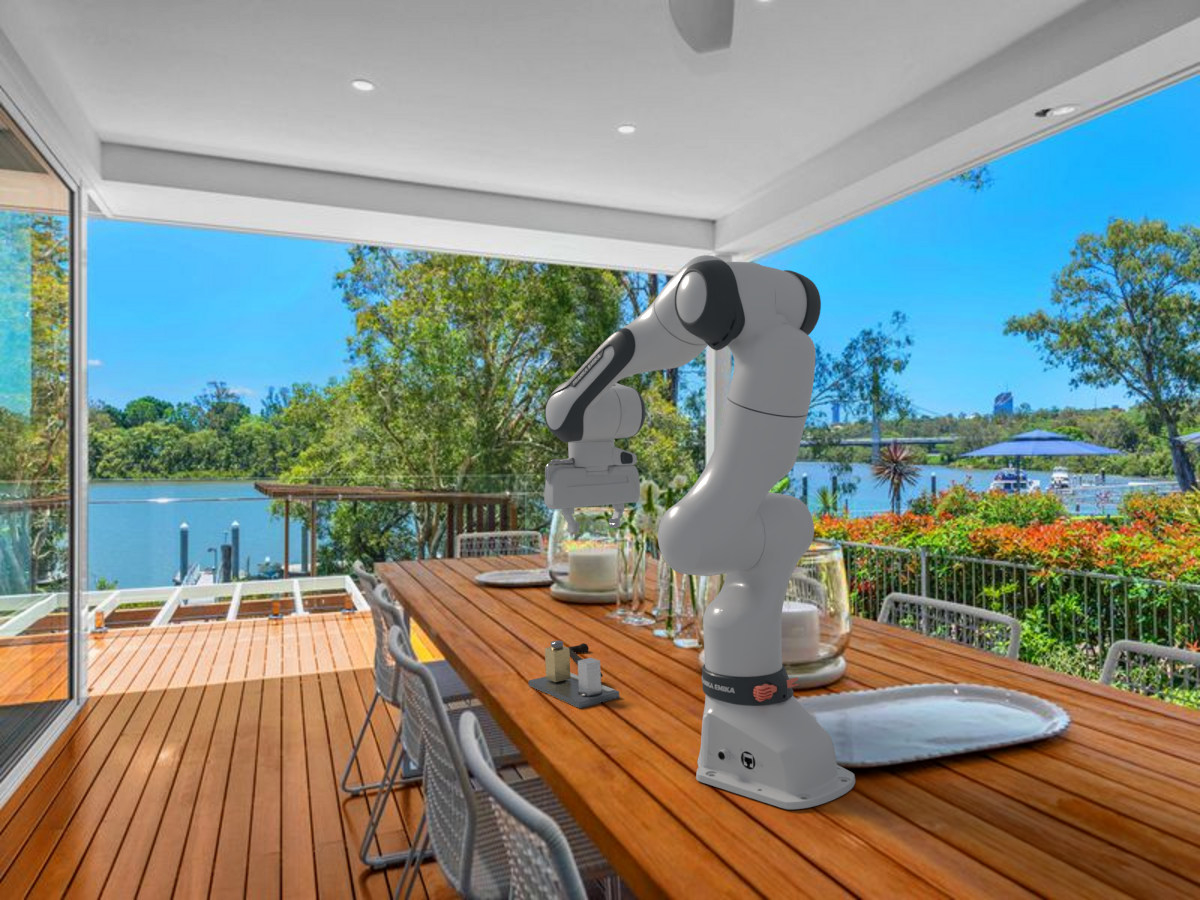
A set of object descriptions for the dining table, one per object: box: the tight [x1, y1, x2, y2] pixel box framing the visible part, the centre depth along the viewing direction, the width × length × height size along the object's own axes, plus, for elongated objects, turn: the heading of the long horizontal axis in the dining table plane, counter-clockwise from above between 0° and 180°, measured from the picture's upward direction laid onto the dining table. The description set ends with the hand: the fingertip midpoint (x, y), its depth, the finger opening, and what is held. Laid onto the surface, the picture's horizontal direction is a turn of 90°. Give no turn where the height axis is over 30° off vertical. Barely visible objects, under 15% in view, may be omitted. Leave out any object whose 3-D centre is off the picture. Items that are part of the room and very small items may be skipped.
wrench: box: [567, 642, 603, 678], centre depth 167 cm, size 5×5×30 cm
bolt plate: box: [528, 657, 620, 709], centre depth 152 cm, size 18×9×7 cm, turn 35°
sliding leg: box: [544, 640, 571, 682], centre depth 156 cm, size 4×4×7 cm
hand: (594, 529), depth 151 cm, fingers open, 8 cm apart
